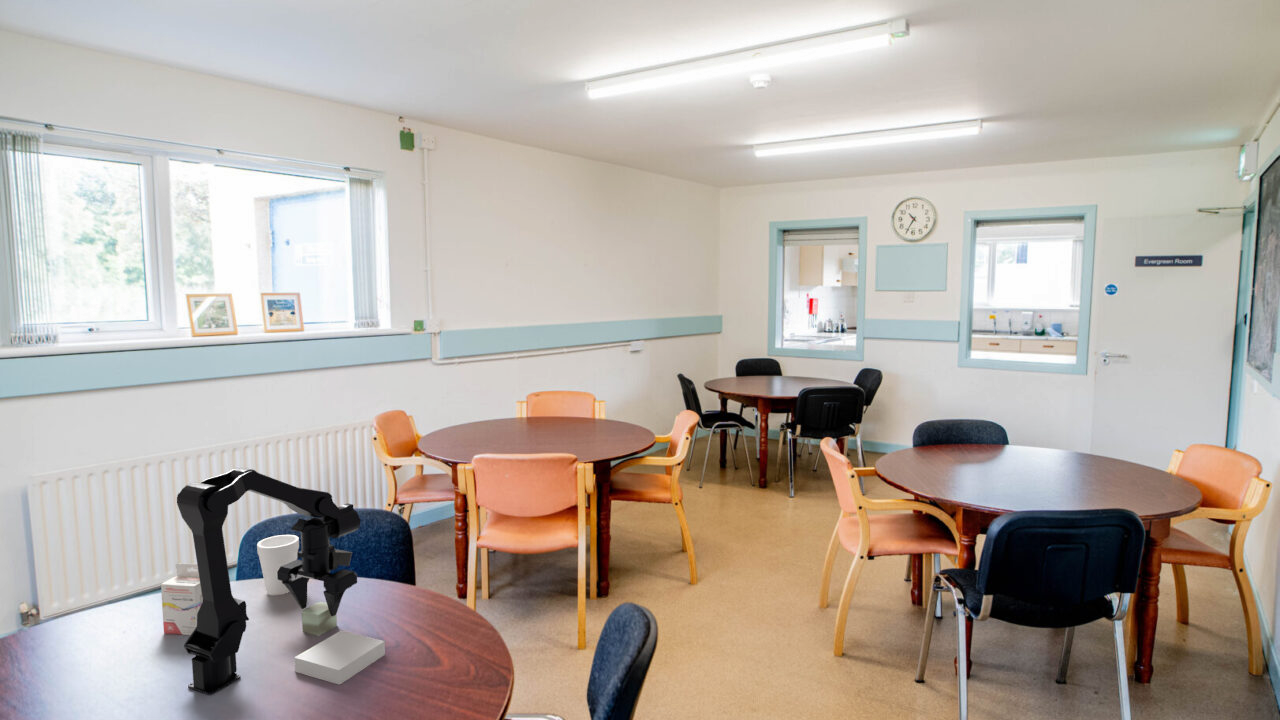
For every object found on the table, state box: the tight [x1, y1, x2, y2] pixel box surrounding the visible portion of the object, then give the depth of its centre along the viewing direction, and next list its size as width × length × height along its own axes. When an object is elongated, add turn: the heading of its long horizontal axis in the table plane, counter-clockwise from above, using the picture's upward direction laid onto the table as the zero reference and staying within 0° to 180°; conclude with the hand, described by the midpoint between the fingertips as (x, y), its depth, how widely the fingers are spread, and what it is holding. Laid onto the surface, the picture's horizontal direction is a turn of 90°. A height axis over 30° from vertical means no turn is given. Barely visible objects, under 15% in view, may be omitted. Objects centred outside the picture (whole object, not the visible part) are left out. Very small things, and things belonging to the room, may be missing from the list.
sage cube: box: [301, 601, 338, 637], centre depth 152 cm, size 5×5×5 cm
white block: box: [293, 629, 386, 685], centre depth 138 cm, size 12×12×3 cm
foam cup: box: [256, 534, 300, 596], centre depth 172 cm, size 10×9×13 cm
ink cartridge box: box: [160, 562, 203, 636], centre depth 151 cm, size 9×5×15 cm, turn 84°
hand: (318, 611), depth 152 cm, fingers open, 9 cm apart
